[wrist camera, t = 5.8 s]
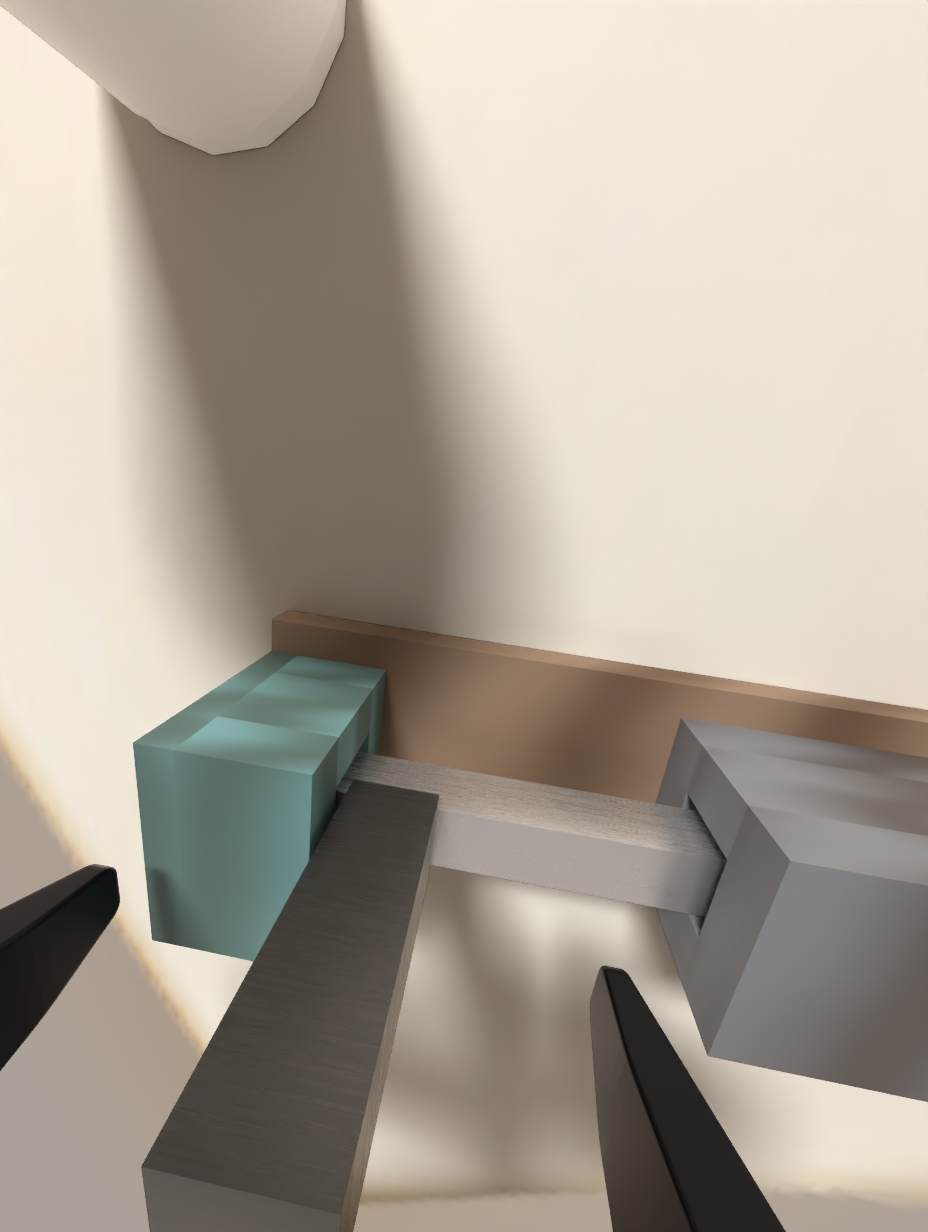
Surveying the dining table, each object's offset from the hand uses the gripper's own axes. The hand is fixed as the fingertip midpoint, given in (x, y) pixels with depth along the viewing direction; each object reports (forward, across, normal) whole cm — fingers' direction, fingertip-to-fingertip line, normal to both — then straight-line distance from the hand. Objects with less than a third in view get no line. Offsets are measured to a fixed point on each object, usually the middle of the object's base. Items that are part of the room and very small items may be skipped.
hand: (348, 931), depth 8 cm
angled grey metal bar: (+4, -3, 0) cm, 5 cm away
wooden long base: (+7, -5, 0) cm, 9 cm away
